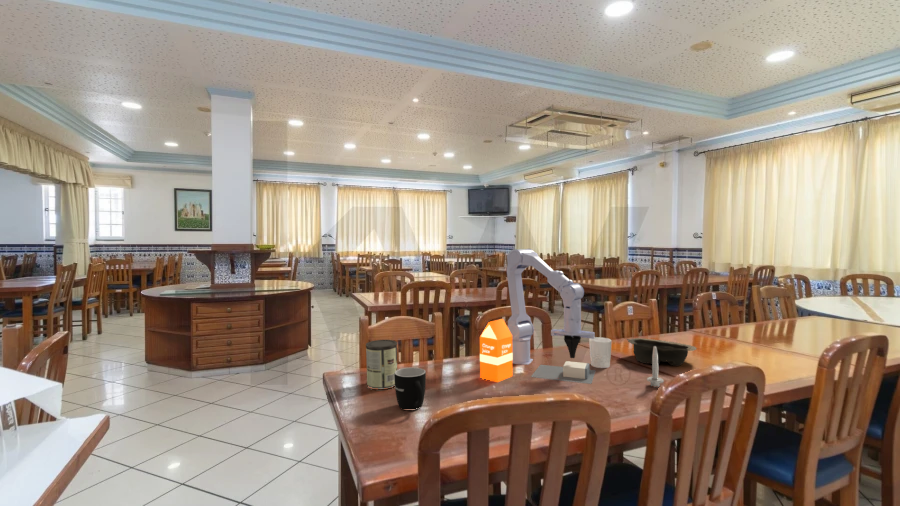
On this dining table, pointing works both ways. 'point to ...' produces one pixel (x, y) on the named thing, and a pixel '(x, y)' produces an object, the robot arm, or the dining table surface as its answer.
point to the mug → (410, 387)
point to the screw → (655, 370)
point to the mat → (559, 374)
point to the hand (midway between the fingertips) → (572, 357)
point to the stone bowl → (660, 351)
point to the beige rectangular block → (576, 370)
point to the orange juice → (496, 352)
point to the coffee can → (381, 363)
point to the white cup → (600, 352)
